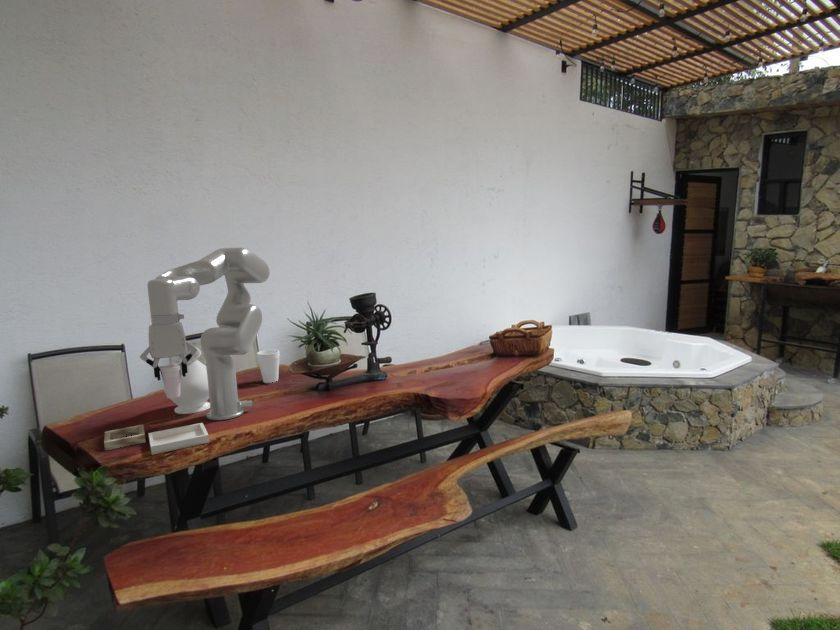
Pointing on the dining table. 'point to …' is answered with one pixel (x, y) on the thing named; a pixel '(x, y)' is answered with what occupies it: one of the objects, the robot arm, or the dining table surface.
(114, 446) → the frame
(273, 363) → the foam cup
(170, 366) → the smoothie
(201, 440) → the tray
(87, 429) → the dining table surface
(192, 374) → the decorative vase
